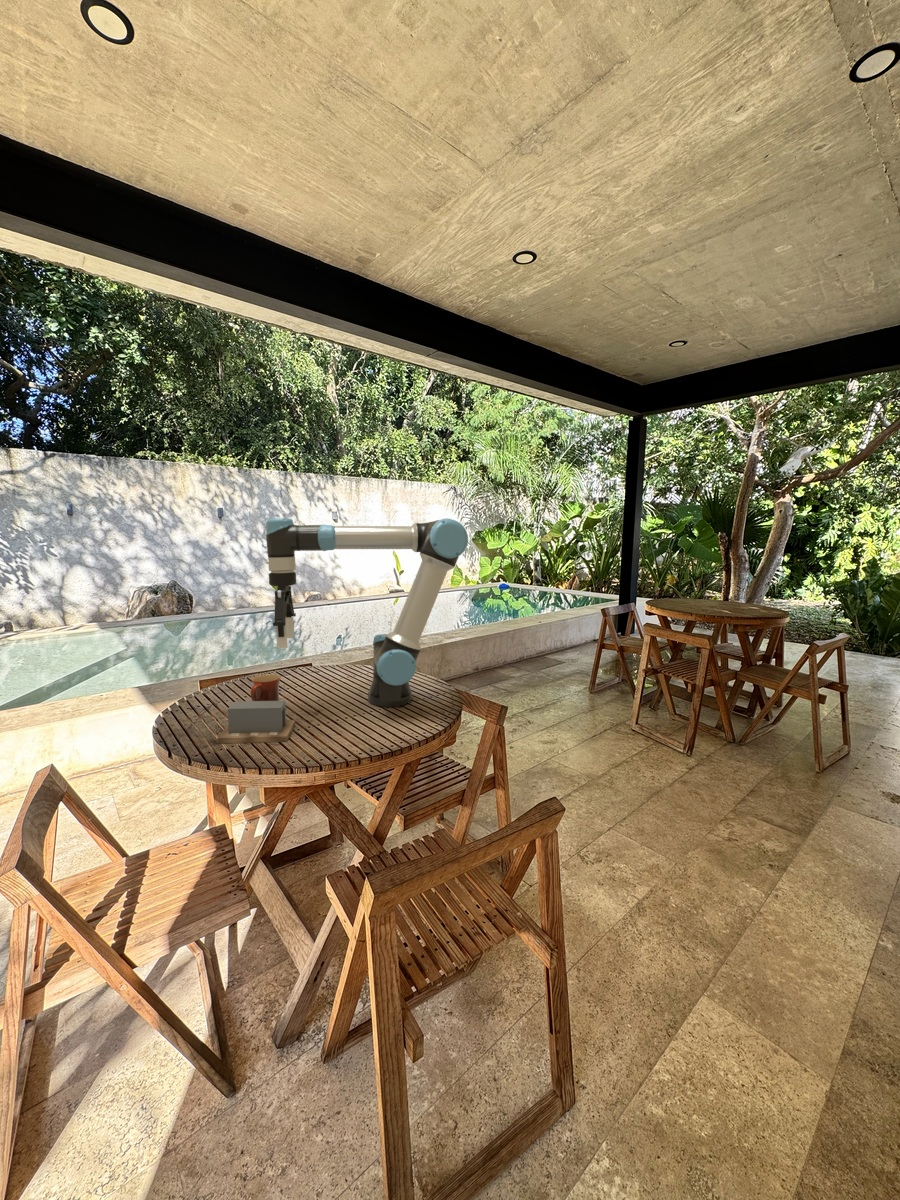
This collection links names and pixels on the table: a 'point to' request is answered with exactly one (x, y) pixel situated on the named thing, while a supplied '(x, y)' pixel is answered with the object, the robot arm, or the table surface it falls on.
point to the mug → (265, 687)
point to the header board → (257, 735)
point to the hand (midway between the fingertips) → (286, 642)
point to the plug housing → (256, 716)
